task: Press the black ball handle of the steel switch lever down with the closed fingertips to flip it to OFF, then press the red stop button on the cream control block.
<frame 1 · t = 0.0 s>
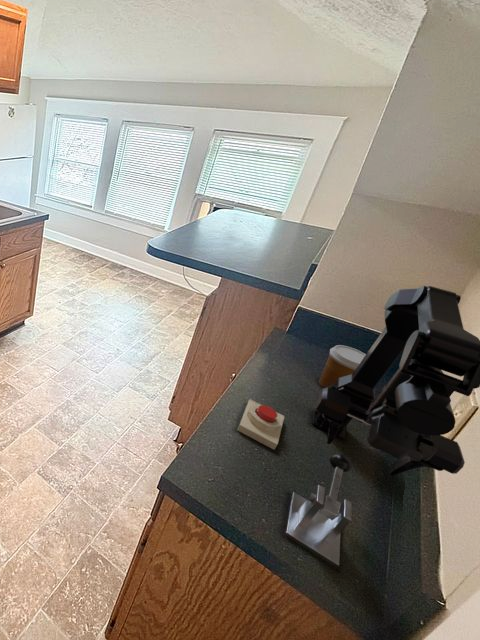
hand: (358, 457, 71), 15 cm above the counter, tool pointing down, fingers open, 9 cm apart
stop block: (259, 426, 95), on the counter
stop button: (266, 413, 93), point 4 cm above the counter, slide at 0.1 cm
disposable coffee cup: (331, 387, 111), on the counter
switch lever: (335, 484, 72), point 9 cm above the counter, hinge at 20.0°
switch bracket: (311, 529, 73), on the counter
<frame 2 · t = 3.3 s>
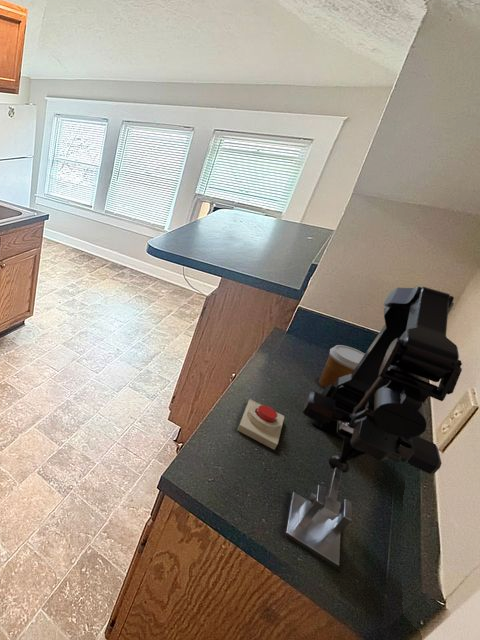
hand: (343, 458, 74), 12 cm above the counter, tool pointing down, fingers closed
switch lever: (334, 484, 73), point 9 cm above the counter, hinge at 17.3°
everything else where it was.
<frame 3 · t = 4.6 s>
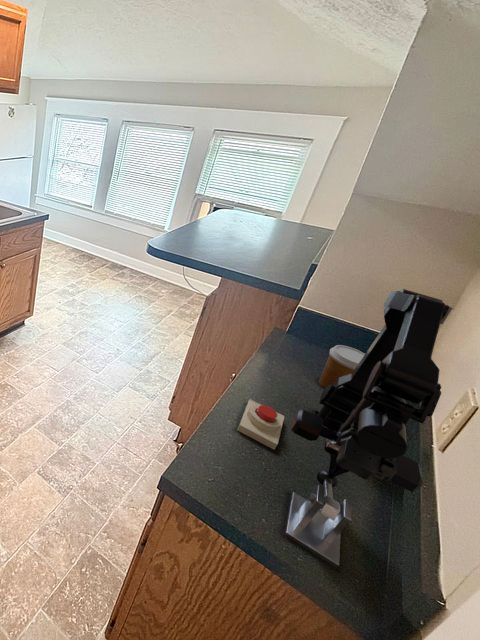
hand: (330, 474, 77), 7 cm above the counter, tool pointing down, fingers closed
switch lever: (328, 492, 74), point 6 cm above the counter, hinge at -12.1°
everything else where it was.
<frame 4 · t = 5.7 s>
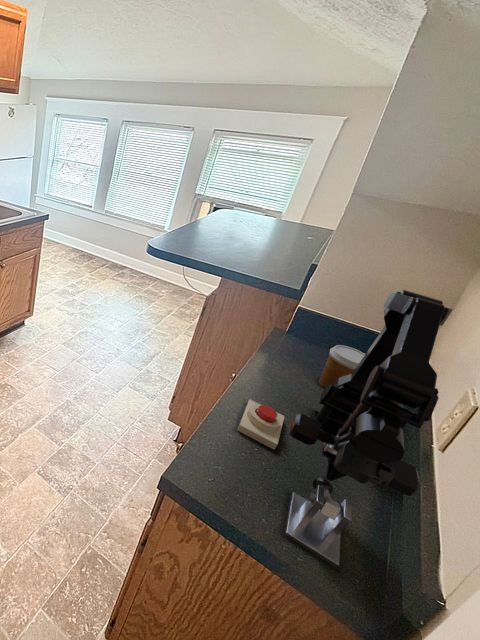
hand: (328, 478, 77), 6 cm above the counter, tool pointing down, fingers closed
switch lever: (325, 496, 74), point 5 cm above the counter, hinge at -22.2°
everything else where it was.
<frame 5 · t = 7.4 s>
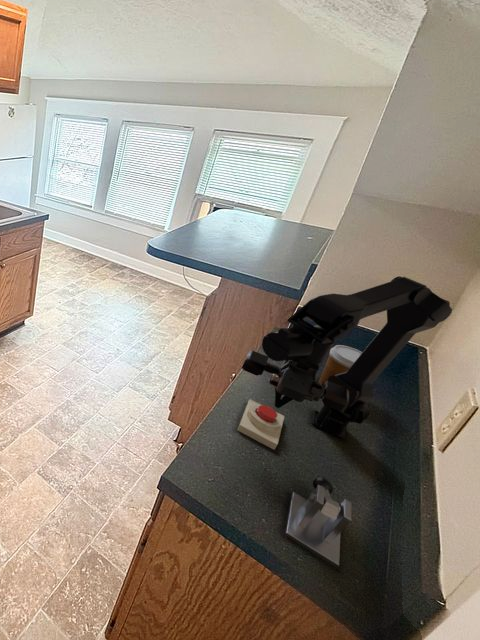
hand: (276, 406, 87), 11 cm above the counter, tool pointing down, fingers closed
nothing on the counter moved.
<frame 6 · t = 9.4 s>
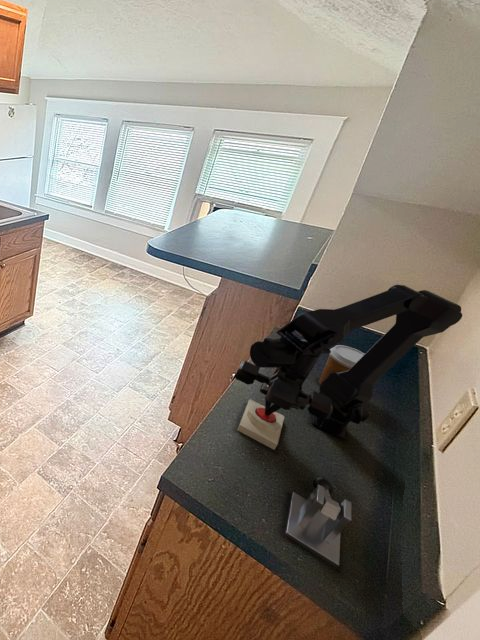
hand: (266, 413, 93), 4 cm above the counter, tool pointing down, fingers closed, pressing on stop button
stop button: (265, 416, 94), point 4 cm above the counter, slide at -0.8 cm, touching gripper
everything else where it was.
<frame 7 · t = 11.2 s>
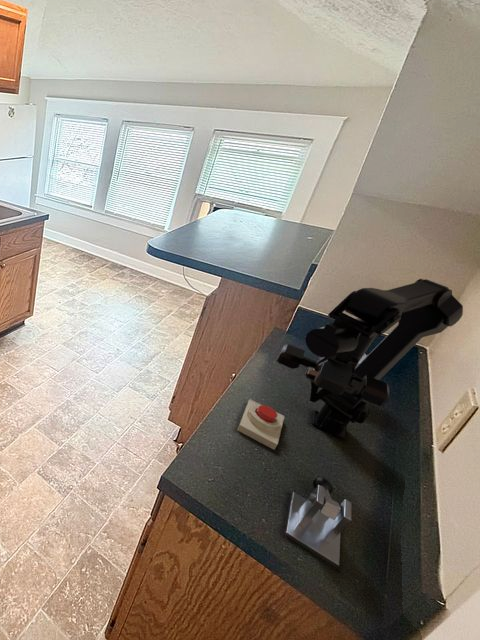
hand: (312, 400, 87), 13 cm above the counter, tool pointing down, fingers closed
stop button: (266, 413, 93), point 4 cm above the counter, slide at 0.1 cm
everything else where it was.
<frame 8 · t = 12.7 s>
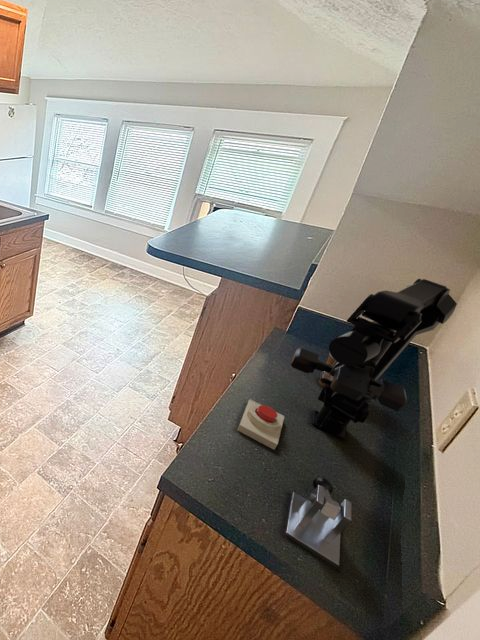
hand: (325, 405, 85), 13 cm above the counter, tool pointing down, fingers closed
nothing on the counter moved.
at the end: switch lever at -22° (first picture: +20°); stop button pushed in 1.1 cm at the most during the clip, back to where it started at the end; stop button slide at 0.1 cm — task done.
